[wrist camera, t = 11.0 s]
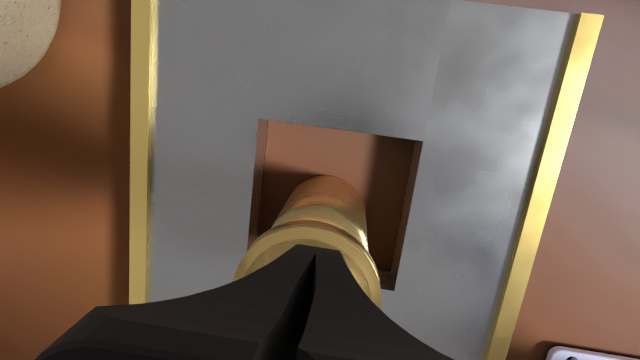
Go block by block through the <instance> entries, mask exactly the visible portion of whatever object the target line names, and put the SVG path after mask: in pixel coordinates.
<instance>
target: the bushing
mask: <svg viewBox="0 0 640 360" xmlns="http://www.w3.org/2000/svg"><path fill="white" fill-rule="evenodd" d="M296 244H302V245H308V246H315V247H321V248H327V249H334V250H340V252H341V253H342V255H343V257H344V260H345V262H346V264H347V266H348V267H349V269H350V271H351V273H352V275H353V276H354V278H355V279H356V281H357V282H358V284H359V285H360V287H361V288H362V290H363V291H364V292H365V293H366V295H367V296H368V297H369V298H370V299H371V300H372V302H373V303H374V304H375V305H376V306H377V307H378V308H379V309H380V310H381V304H382V300H381V288H380V280H379V275H378V271H377V268H376V265H375V263H374V261H373V259H372V257H371V255H370V254H369V252H368V240H367V224H366V210H365V205H364V202H363V199H362V197H361V196H360V194H359V193H358V191H357V190H356V189H355V188H354V187H353V186H352V185H351V184H349V183H348V182H346V181H344V180H342V179H340V178H337V177H333V176H316V177H312V178H309V179H307V180H305V181H304V182H302V183H301V184H299V185H298V186H297V187H296V188H295V189H294V190H293V192H292V193H291V195H290V197H289V198H288V200H287V202H286V203H285V205H284V207H283V209H282V210H281V212H280V214H279V216H278V217H277V219H276V221H275V222H274V224H273V226H272V228H271V229H269V230H268V231H266V232H265V233H263V234H262V235H261V236H260V237H258V238H257V239H256V240H255V241H254V243H253V244H252V245H251V246H250V248H249V249H248V251H247V252H246V254H245V255H244V257H243V258H242V260H241V262H240V263H239V265H238V267H237V269H236V271H235V274H234V278H233V281H236V280H238V279H240V278H243V277H245V276H247V275H249V274H251V273H252V272H254V271H256V270H258V269H260V268H261V267H263V266H265V265H267V264H269V263H270V262H272V261H273V260H275V259H276V258H278V257H279V256H281V255H282V254H283V253H285V252H286V251H288V250H289V249H291V248H292V247H294V246H295V245H296Z"/></svg>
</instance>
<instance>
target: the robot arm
mask: <svg viewBox="0 0 640 360" xmlns="http://www.w3.org/2000/svg"><path fill="white" fill-rule="evenodd" d="M571 356H573V357H572V359H570V360H640V359H635V358H629V357H623V356H617V355H611V354H605V353H599V352H593V351H587V350H581V349H575V348H569V347H563V346H556V347H553V348H551V349H550V350H549V352H548V354H547V357H546V360H566V359H567V358H568V357H571ZM35 360H454V359H452V358H450V357H448V356H446V355H444V354H442V353H440V352H438V351H437V350H435V349H433V348H432V347H430V346H428V345H427V344H425V343H423V342H421V341H420V340H418V339H417V338H415V337H414V336H412V335H411V334H410V333H408V332H407V331H405V330H404V329H403V328H402V327H400V326H399V325H398V324H396V323H395V322H394V321H393V320H391V319H390V318H389V317H388V316H387V315H386V314H385V313H384V312H383V311H382V310H380V309H379V308H378V307H377V306H376V305H375V304H374V303H373V302H372V300H371V299H370V298H369V297H368V296H367V295H366V293H365V292H364V291H363V290H362V288H361V287H360V285H359V284H358V282H357V281H356V279H355V278H354V276H353V275H352V273H351V271H350V269H349V267H348V266H347V264H346V262H345V260H344V257H343V255H342V253H341V252H340V250H334V249H327V248H321V247H315V246H308V245H302V244H296V245H295V246H294V247H292V248H291V249H289V250H288V251H286V252H285V253H283V254H282V255H281V256H279V257H278V258H276V259H275V260H273V261H272V262H270V263H269V264H267V265H265V266H263V267H261V268H260V269H258V270H256V271H254V272H252V273H251V274H249V275H247V276H245V277H243V278H240V279H238V280H236V281H233V282H231V283H228V284H226V285H223V286H220V287H217V288H214V289H210V290H207V291H203V292H200V293H196V294H193V295H189V296H184V297H179V298H174V299H169V300H163V301H156V302H149V303H141V304H128V305H115V306H97V307H95V308H94V309H93V310H91V311H90V312H89V313H88V314H86V315H85V316H84V317H83V318H82V319H81V320H79V321H78V322H77V323H76V324H75V325H73V326H72V327H71V328H70V329H69V330H68V331H66V332H65V333H64V334H63V335H62V336H61V337H59V338H58V339H57V340H56V341H55V342H54V343H52V344H51V345H50V346H49V347H48V348H47V349H45V350H44V351H43V352H42V353H41V354H40V355H39V356H38V357H37V358H36V359H35Z"/></svg>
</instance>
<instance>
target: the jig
mask: <svg viewBox="0 0 640 360" xmlns="http://www.w3.org/2000/svg"><path fill="white" fill-rule="evenodd" d="M603 18H604V15H597V14H589V13H579V14H573V13H565V12H556V11H548V10H539V9H531V8H522V7H514V6H505V5H497V4H488V3H480V2H471V1H463V0H131V94H130V241H129V304H141V303H149V302H156V301H163V300H169V299H174V298H179V297H184V296H189V295H193V294H196V293H200V292H203V291H207V290H210V289H214V288H217V287H220V286H223V285H226V284H228V283H231V282H233V278H234V274H235V271H236V269H237V267H238V265H239V263H240V262H241V260H242V258H243V257H244V255H245V254H246V252H247V251H248V249H249V248H250V246H251V245H252V244H253V243H254V241H255V240H256V239H257V233H258V223H259V212H260V201H261V191H262V180H263V169H264V158H265V148H266V137H267V126H268V120H274V121H281V122H289V123H296V124H303V125H310V126H317V127H325V128H332V129H339V130H346V131H353V132H361V133H368V134H375V135H382V136H389V137H397V138H404V139H411V140H415V146H414V151H413V156H412V162H411V167H410V172H409V177H408V183H407V188H406V193H405V199H404V204H403V209H402V214H401V220H400V225H399V230H398V236H397V241H396V246H395V251H394V257H393V262H392V267H391V271H387V270H381V269H377V271H378V275H379V280H380V288H381V300H382V304H381V310H382V311H383V312H384V313H385V314H386V315H387V316H388V317H389V318H390V319H391V320H393V321H394V322H395V323H396V324H398V325H399V326H400V327H402V328H403V329H404V330H405V331H407V332H408V333H410V334H411V335H412V336H414V337H415V338H417V339H418V340H420V341H421V342H423V343H425V344H427V345H428V346H430V347H432V348H433V349H435V350H437V351H438V352H440V353H442V354H444V355H446V356H448V357H450V358H452V359H454V360H506V356H507V353H508V349H509V346H510V342H511V339H512V335H513V332H514V328H515V325H516V321H517V318H518V314H519V311H520V307H521V304H522V300H523V297H524V293H525V290H526V287H527V283H528V280H529V276H530V273H531V269H532V266H533V262H534V259H535V255H536V252H537V248H538V245H539V241H540V238H541V234H542V231H543V227H544V224H545V220H546V217H547V213H548V210H549V206H550V203H551V199H552V196H553V192H554V189H555V185H556V182H557V178H558V175H559V171H560V168H561V164H562V161H563V157H564V154H565V150H566V147H567V144H568V140H569V137H570V133H571V130H572V126H573V123H574V119H575V116H576V112H577V109H578V105H579V102H580V98H581V95H582V91H583V88H584V84H585V81H586V77H587V74H588V70H589V67H590V63H591V60H592V56H593V53H594V49H595V46H596V42H597V39H598V35H599V32H600V28H601V25H602V21H603Z"/></svg>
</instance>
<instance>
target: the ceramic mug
mask: <svg viewBox="0 0 640 360" xmlns="http://www.w3.org/2000/svg"><path fill="white" fill-rule="evenodd" d="M60 10H61V0H0V88H2V87H4V86H6V85H8V84H10V83H12V82H14V81H16V80H18V79H20V78H21V77H23V76H24V75H25V74H27V73H28V72H29V71H30V70H32V69H33V68H34V67H35V66H36V65H37V63H38V62H39V61H40V60H41V59H42V57H43V56H44V55H45V54H46V52H47V50H48V49H49V46H50V44H51V42H52V40H53V38H54V36H55V33H56V30H57V27H58V23H59V17H60Z"/></svg>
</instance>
